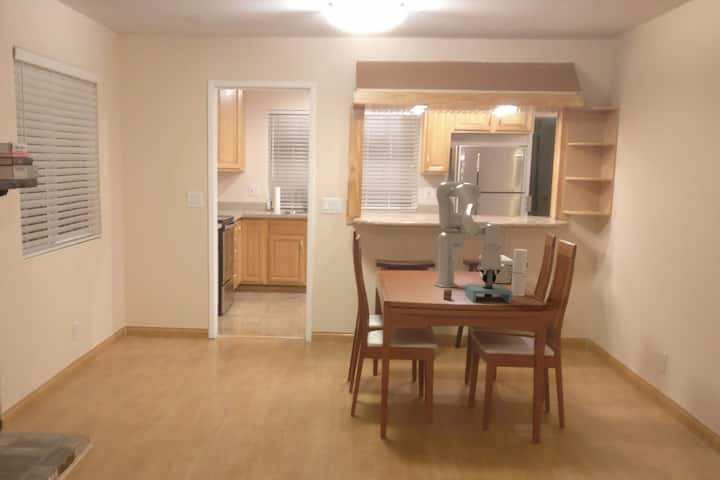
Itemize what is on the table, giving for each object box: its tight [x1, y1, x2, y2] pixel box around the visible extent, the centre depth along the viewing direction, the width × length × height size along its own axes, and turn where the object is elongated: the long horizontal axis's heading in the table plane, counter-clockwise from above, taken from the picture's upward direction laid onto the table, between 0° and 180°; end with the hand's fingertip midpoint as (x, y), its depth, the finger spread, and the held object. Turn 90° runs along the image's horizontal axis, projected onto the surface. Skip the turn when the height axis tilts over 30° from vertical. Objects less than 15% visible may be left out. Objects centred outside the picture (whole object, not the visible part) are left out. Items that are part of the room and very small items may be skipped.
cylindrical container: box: [510, 248, 529, 297], centre depth 306 cm, size 7×7×25 cm
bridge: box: [465, 283, 513, 304], centre depth 293 cm, size 16×20×6 cm
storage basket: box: [479, 254, 513, 284], centre depth 348 cm, size 24×16×15 cm
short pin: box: [443, 288, 453, 301], centre depth 289 cm, size 4×4×5 cm
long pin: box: [483, 270, 494, 298], centre depth 293 cm, size 4×4×14 cm
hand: (488, 281), depth 293 cm, fingers closed on long pin, 4 cm apart
